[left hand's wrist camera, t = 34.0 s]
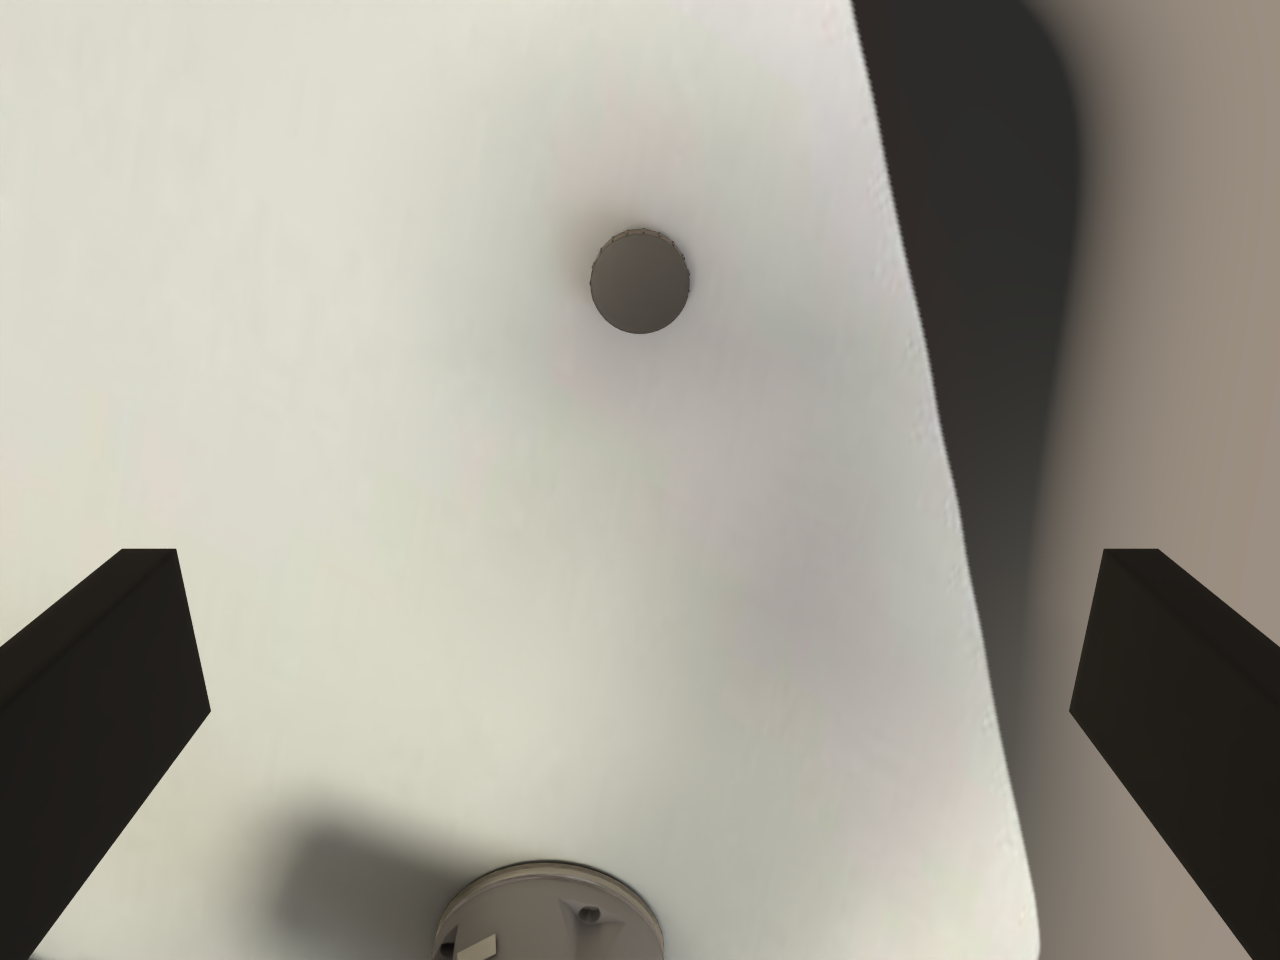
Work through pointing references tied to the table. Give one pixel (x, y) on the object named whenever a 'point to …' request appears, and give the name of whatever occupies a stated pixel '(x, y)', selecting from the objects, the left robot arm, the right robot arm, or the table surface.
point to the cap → (640, 281)
